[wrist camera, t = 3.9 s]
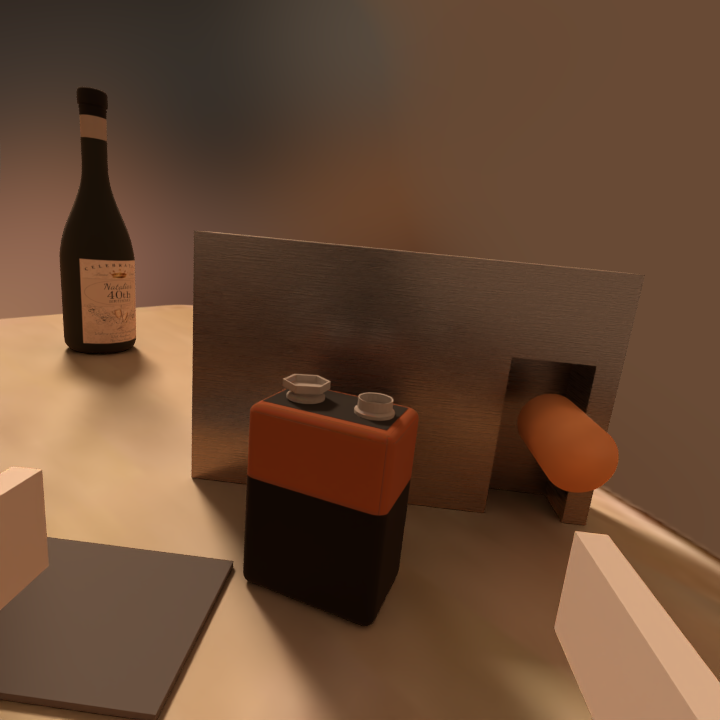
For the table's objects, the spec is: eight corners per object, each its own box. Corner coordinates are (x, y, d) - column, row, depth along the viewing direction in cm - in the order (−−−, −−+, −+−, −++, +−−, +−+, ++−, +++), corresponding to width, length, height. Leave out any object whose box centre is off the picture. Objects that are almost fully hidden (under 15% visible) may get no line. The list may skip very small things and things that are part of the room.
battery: (284, 534, 27) (295, 363, 24) (400, 574, 24) (424, 389, 22) (238, 582, 23) (245, 383, 20) (370, 635, 20) (396, 418, 18)
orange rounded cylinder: (536, 488, 24) (550, 420, 23) (512, 446, 29) (523, 390, 28) (609, 496, 24) (626, 429, 23) (572, 453, 29) (585, 397, 28)
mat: (-153, 677, 17) (-154, 670, 16) (21, 538, 24) (21, 533, 24) (155, 722, 16) (155, 714, 16) (233, 566, 24) (233, 561, 24)
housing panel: (191, 477, 32) (193, 230, 28) (213, 452, 36) (218, 232, 32) (585, 525, 31) (644, 275, 27) (563, 493, 35) (612, 271, 31)
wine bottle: (149, 349, 63) (146, 99, 55) (91, 359, 56) (78, 75, 48) (110, 338, 66) (102, 102, 59) (51, 346, 59) (34, 80, 52)
